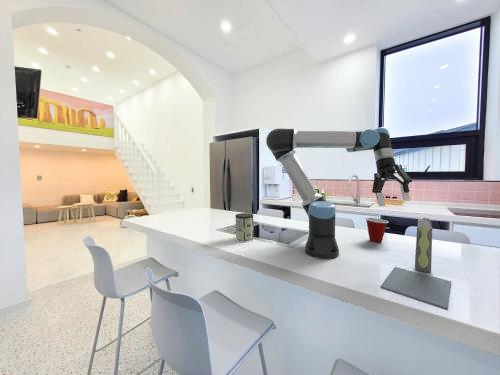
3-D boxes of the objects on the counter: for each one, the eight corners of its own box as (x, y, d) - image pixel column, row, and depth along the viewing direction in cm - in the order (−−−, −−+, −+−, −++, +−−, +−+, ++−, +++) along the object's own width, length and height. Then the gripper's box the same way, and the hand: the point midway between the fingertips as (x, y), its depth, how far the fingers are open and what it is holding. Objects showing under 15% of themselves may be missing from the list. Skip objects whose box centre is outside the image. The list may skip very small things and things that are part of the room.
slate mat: (394, 267, 83) (394, 266, 83) (451, 282, 71) (451, 281, 71) (380, 287, 69) (380, 286, 69) (447, 309, 57) (447, 308, 57)
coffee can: (242, 235, 128) (242, 212, 127) (257, 238, 123) (256, 214, 122) (232, 240, 120) (231, 215, 119) (247, 243, 114) (246, 217, 113)
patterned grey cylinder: (414, 266, 84) (416, 216, 83) (430, 269, 81) (433, 217, 80) (414, 270, 80) (416, 218, 79) (431, 274, 77) (433, 220, 76)
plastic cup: (391, 244, 109) (392, 221, 108) (368, 243, 111) (369, 221, 110) (383, 238, 119) (383, 217, 118) (362, 237, 121) (362, 216, 121)
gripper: (415, 148, 89) (427, 197, 84) (372, 168, 113) (380, 208, 107) (399, 147, 88) (411, 197, 82) (360, 168, 112) (366, 208, 106)
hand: (393, 203), depth 95 cm, fingers open, 13 cm apart
